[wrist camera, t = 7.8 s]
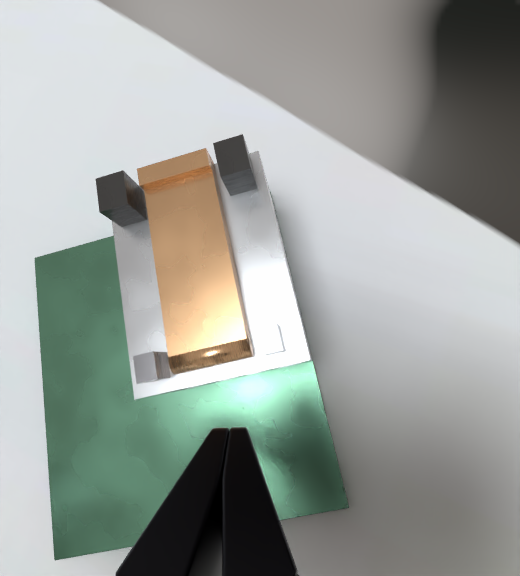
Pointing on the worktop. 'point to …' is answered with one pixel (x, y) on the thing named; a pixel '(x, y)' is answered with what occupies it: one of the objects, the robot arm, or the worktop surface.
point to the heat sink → (161, 381)
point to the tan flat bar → (194, 264)
